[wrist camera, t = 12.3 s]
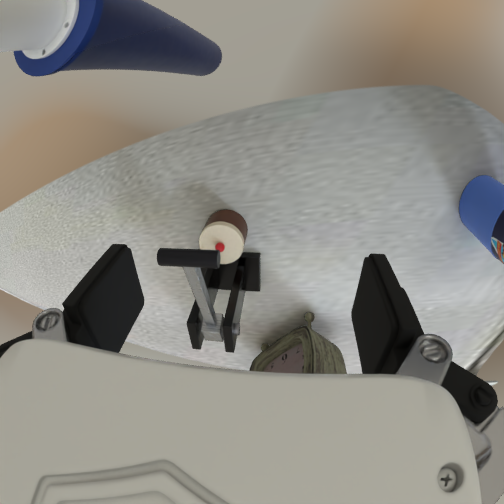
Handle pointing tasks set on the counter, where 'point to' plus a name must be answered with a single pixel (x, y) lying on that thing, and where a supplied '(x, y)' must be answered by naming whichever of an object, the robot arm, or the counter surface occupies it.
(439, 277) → the counter surface
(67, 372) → the robot arm
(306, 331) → the tabletop clock
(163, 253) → the lever
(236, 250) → the cake
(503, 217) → the blue bottle
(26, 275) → the counter surface
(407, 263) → the counter surface
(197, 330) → the black upright frame
